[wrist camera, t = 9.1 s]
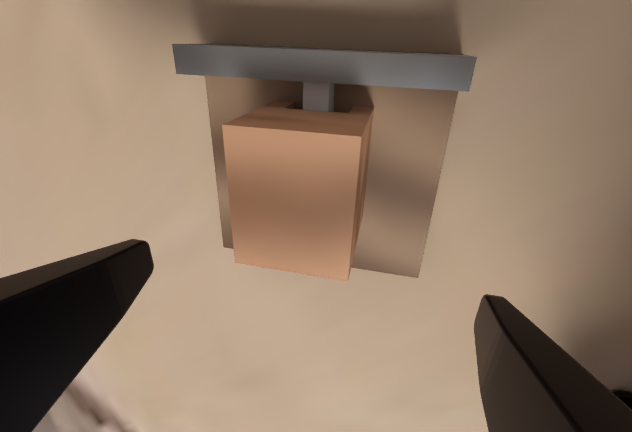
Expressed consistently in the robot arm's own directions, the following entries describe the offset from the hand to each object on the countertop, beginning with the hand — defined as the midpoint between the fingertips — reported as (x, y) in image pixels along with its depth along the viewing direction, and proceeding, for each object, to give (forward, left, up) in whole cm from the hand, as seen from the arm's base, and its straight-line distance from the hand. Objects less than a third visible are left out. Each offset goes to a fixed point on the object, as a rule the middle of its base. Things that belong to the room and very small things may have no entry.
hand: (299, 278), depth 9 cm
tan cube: (0, +2, -10) cm, 10 cm away
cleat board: (-1, +2, -11) cm, 11 cm away
